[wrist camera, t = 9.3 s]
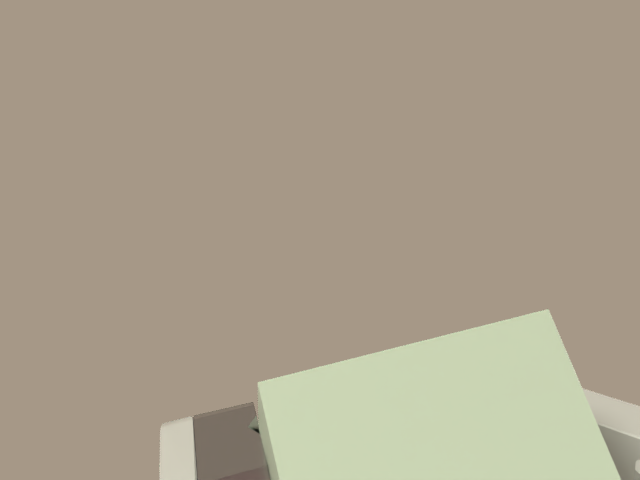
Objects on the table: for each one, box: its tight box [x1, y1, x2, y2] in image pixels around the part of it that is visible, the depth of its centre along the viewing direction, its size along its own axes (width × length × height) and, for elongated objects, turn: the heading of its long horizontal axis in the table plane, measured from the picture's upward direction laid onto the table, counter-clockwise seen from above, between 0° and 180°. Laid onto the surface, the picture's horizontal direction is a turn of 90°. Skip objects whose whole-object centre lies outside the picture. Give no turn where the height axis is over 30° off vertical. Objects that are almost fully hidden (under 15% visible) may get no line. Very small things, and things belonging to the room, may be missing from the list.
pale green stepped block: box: [159, 309, 621, 480], centre depth 14 cm, size 8×19×2 cm, turn 9°
